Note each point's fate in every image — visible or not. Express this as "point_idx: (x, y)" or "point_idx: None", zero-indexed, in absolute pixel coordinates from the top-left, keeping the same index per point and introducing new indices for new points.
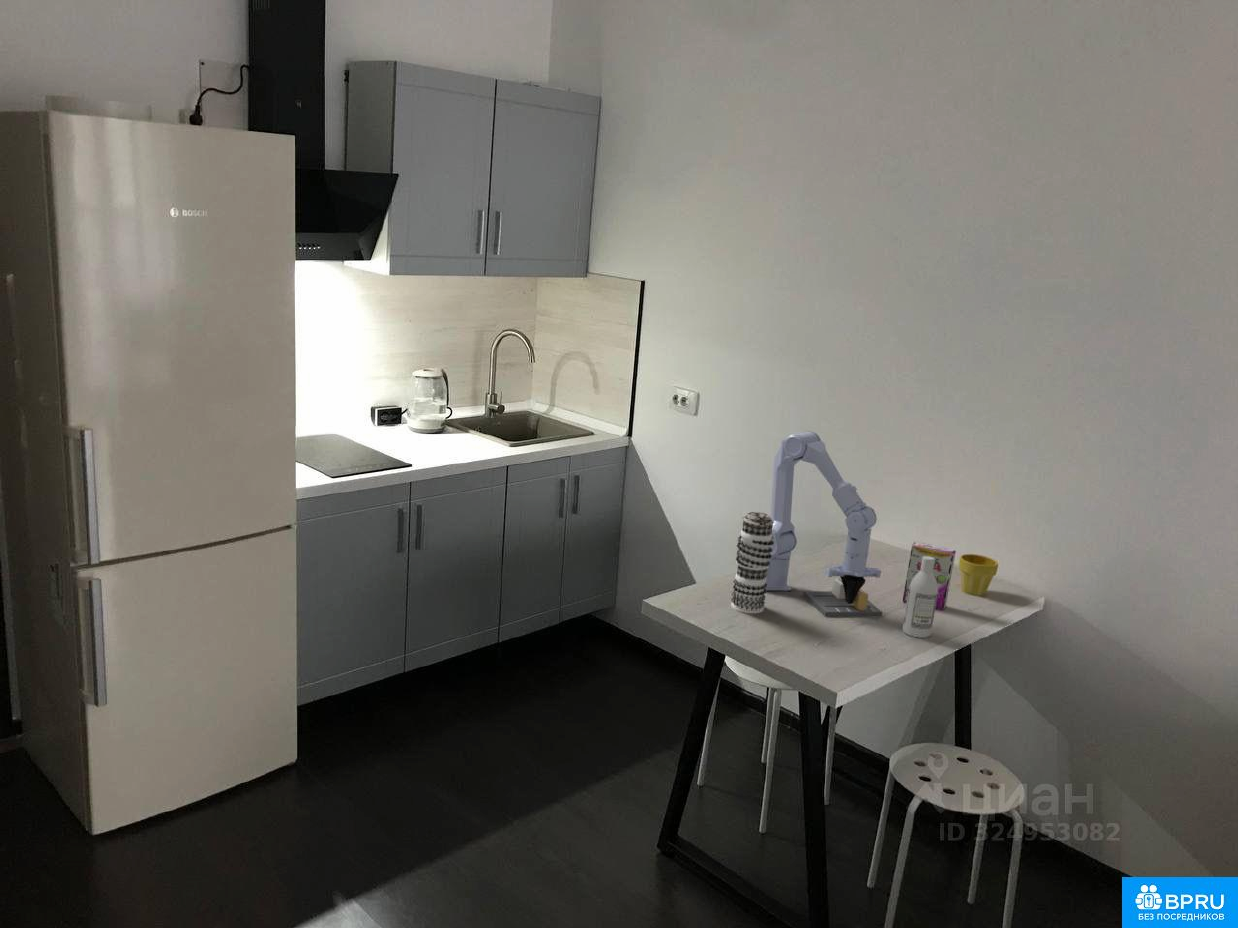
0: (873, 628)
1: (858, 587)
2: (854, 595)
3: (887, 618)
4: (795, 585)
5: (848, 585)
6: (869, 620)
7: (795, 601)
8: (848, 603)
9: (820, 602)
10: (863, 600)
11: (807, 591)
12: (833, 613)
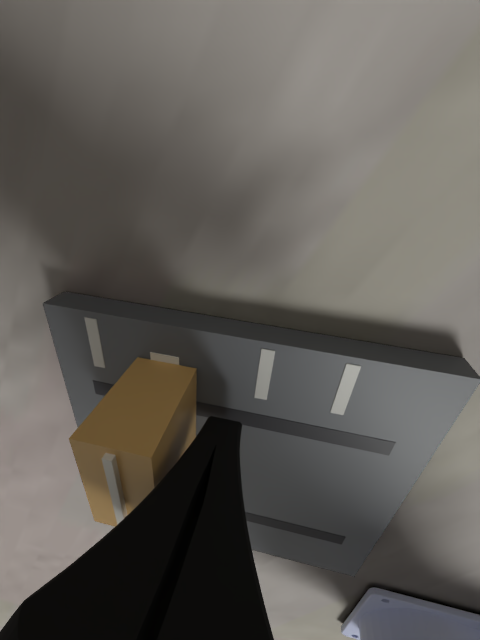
0: (212, 56)
1: (133, 547)
2: (192, 467)
3: (37, 259)
4: (310, 596)
5: (265, 620)
6: (169, 244)
7: (451, 530)
8: (240, 423)
9: (373, 487)
10: (133, 406)
11: (335, 569)
12: (405, 359)
